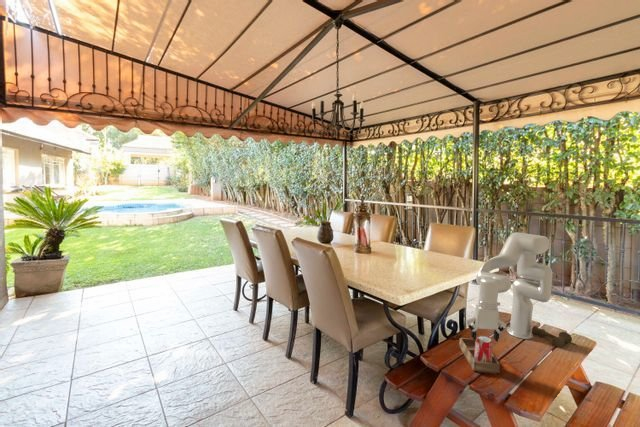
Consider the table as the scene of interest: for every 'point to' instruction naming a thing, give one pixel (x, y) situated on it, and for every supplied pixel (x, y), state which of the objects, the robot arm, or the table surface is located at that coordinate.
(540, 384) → the table surface
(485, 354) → the soda can
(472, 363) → the drinks caddy
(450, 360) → the table surface
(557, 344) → the kendama
